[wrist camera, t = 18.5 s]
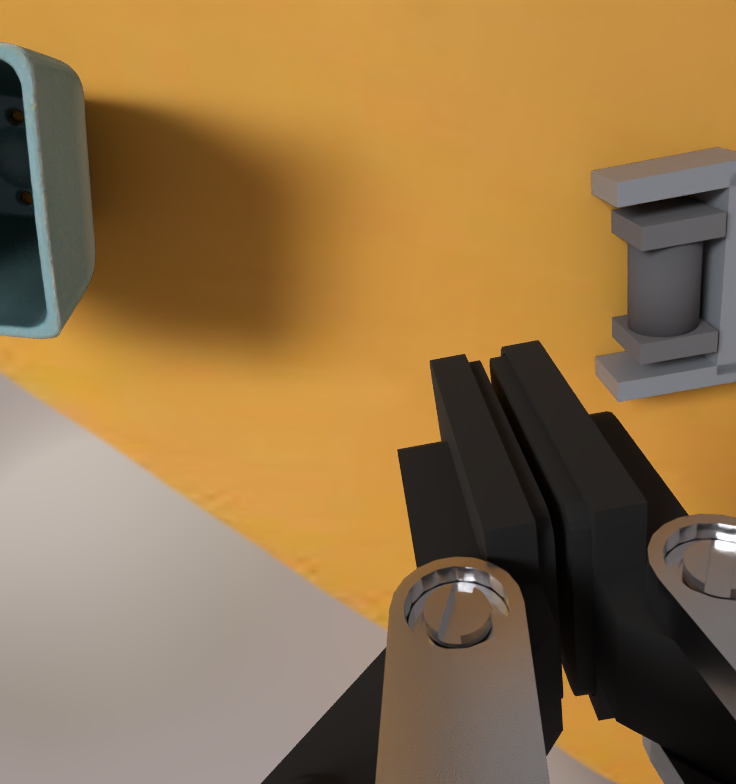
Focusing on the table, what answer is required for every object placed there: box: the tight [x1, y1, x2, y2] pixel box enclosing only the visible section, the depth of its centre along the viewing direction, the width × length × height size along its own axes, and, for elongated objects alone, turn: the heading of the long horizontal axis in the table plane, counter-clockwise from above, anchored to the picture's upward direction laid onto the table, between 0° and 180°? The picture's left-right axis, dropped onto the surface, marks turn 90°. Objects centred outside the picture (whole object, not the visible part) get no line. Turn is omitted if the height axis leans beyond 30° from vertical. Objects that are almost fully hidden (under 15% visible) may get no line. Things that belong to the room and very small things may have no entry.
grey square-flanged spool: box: [611, 196, 727, 365], centre depth 30 cm, size 6×3×3 cm, turn 10°
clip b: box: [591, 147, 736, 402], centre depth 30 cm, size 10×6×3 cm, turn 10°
